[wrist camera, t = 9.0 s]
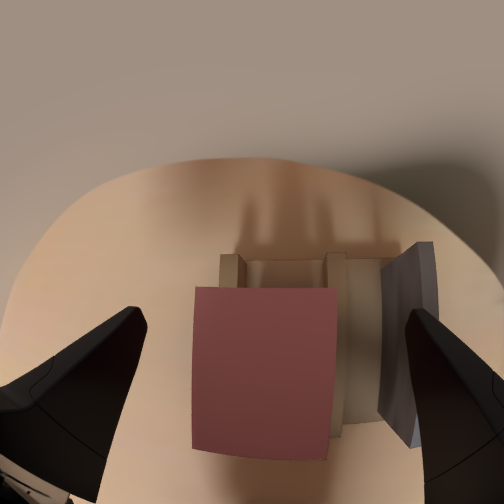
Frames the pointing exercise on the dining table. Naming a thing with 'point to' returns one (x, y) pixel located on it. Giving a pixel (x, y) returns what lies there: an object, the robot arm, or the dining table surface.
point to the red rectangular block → (264, 371)
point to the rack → (360, 326)
